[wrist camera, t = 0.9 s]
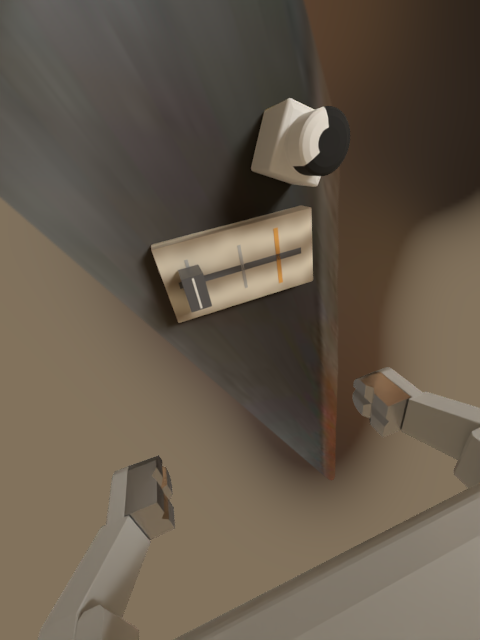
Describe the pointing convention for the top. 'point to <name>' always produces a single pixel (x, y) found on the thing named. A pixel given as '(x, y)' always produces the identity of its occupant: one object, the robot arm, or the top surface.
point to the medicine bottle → (300, 142)
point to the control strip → (240, 260)
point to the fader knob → (195, 288)
